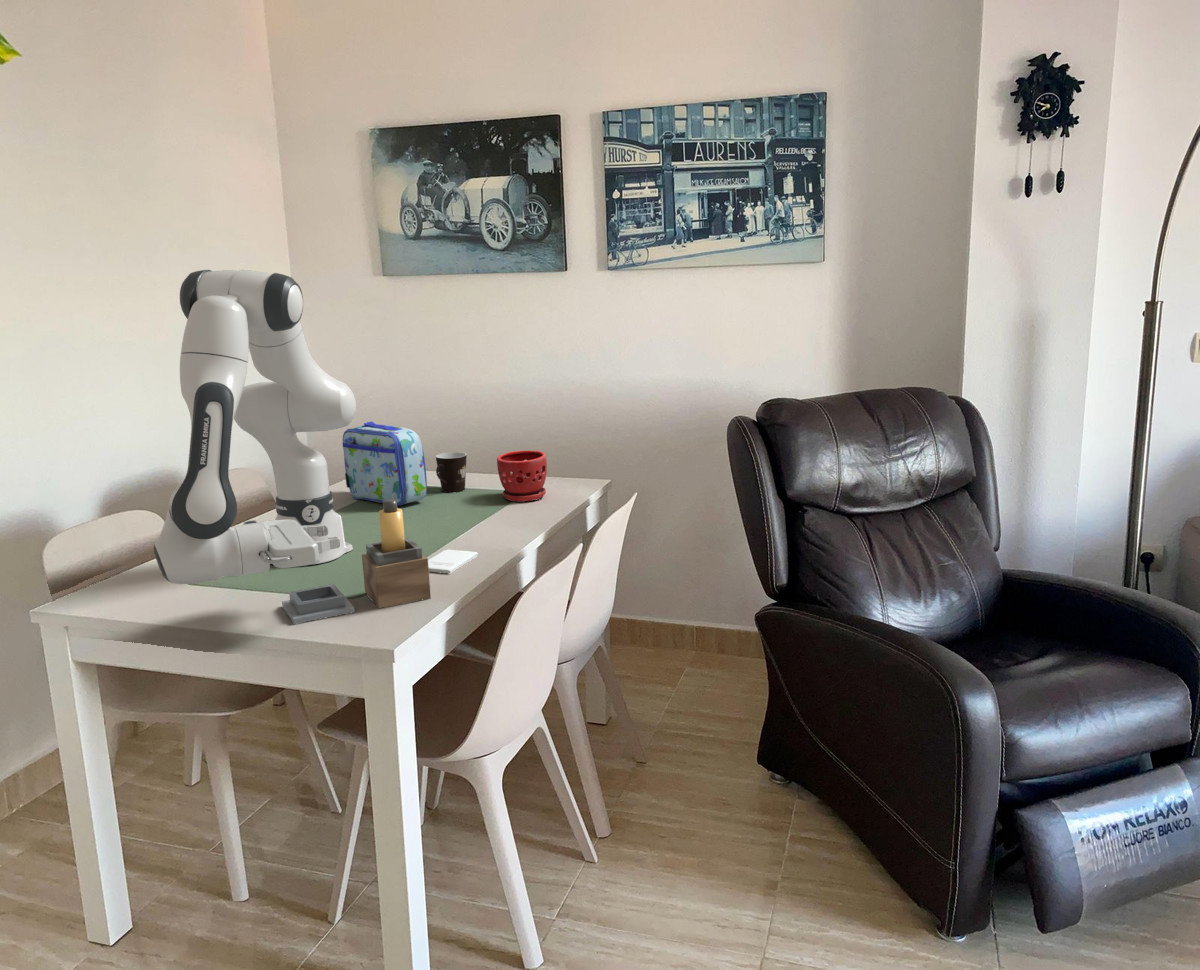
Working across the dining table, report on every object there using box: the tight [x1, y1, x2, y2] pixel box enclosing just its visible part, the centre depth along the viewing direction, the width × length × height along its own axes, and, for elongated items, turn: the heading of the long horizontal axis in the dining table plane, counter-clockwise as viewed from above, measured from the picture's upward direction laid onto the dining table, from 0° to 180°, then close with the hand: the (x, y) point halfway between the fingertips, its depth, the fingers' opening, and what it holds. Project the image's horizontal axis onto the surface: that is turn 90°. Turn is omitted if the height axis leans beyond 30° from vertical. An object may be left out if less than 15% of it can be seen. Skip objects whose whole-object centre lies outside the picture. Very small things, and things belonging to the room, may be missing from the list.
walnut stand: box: [361, 537, 432, 609], centre depth 186 cm, size 10×10×10 cm
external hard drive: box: [428, 548, 479, 574], centre depth 206 cm, size 2×8×12 cm
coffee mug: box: [435, 451, 468, 494], centre depth 270 cm, size 12×9×10 cm
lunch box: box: [342, 421, 428, 507], centre depth 260 cm, size 26×11×21 cm, turn 49°
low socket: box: [281, 583, 356, 625], centre depth 181 cm, size 11×11×3 cm
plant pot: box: [496, 449, 548, 503], centre depth 259 cm, size 13×13×12 cm
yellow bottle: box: [378, 499, 406, 553], centre depth 184 cm, size 4×4×11 cm
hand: (332, 535), depth 179 cm, fingers open, 8 cm apart
